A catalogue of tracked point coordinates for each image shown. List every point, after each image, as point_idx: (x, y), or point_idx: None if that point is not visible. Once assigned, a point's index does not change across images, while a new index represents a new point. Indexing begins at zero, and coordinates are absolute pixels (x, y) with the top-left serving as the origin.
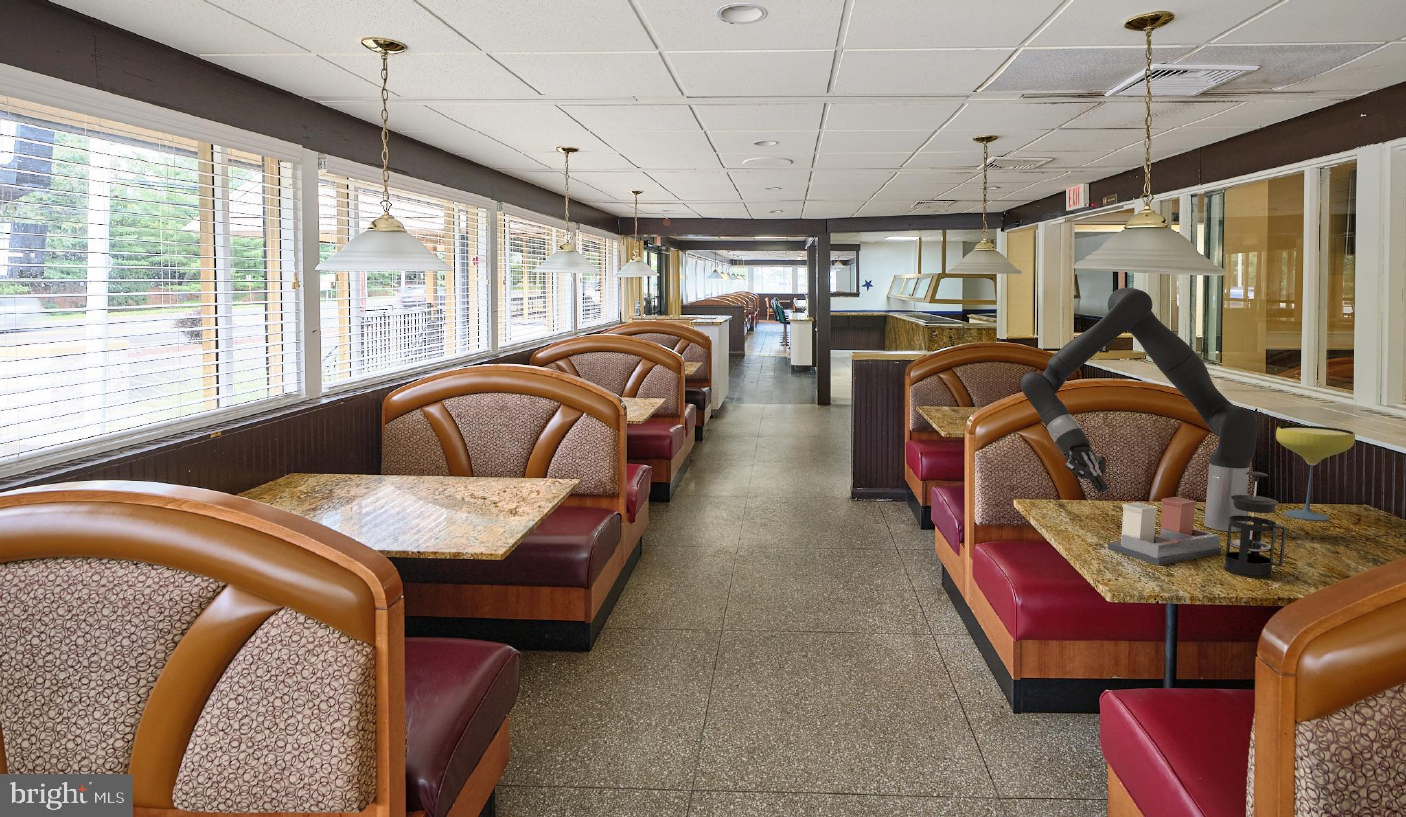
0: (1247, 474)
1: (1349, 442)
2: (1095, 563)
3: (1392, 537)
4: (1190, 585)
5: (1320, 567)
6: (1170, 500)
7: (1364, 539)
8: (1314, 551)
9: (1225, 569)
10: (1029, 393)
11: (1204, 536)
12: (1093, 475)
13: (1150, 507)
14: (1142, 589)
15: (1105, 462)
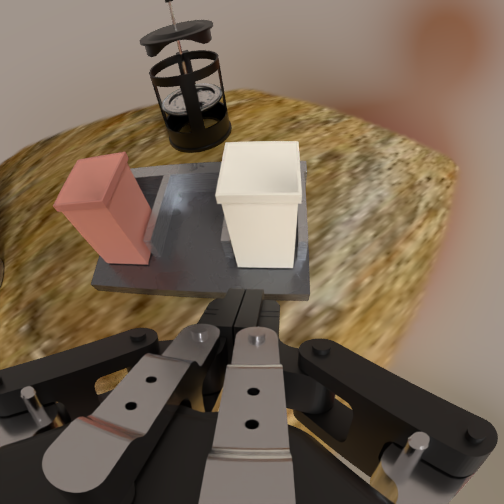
0: None
1: None
2: (415, 239)
3: None
4: (340, 128)
5: (108, 129)
6: (106, 181)
7: None
8: (42, 169)
9: (223, 140)
10: None
11: (147, 171)
12: (276, 337)
13: (251, 145)
14: (417, 146)
15: (30, 361)
